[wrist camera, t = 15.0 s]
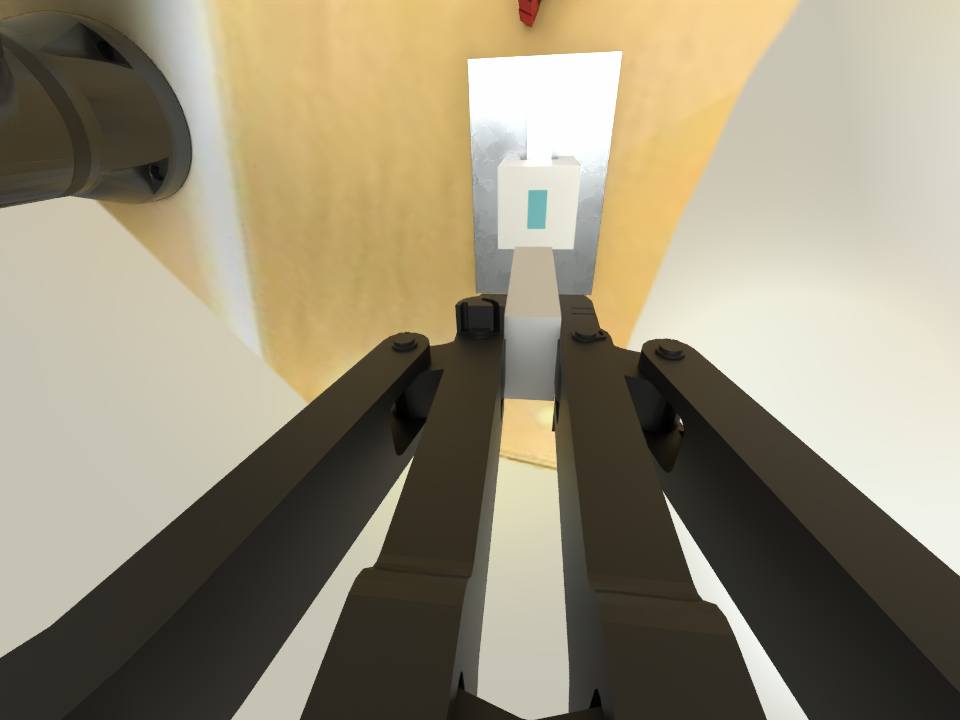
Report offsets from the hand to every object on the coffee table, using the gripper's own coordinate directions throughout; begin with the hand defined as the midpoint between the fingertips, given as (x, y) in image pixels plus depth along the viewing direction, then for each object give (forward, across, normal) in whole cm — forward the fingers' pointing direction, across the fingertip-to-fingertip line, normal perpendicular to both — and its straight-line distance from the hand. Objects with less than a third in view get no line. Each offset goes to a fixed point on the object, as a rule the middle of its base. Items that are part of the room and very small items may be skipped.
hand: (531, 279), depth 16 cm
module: (+23, 0, 0) cm, 23 cm away
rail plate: (+24, 0, 0) cm, 24 cm away
